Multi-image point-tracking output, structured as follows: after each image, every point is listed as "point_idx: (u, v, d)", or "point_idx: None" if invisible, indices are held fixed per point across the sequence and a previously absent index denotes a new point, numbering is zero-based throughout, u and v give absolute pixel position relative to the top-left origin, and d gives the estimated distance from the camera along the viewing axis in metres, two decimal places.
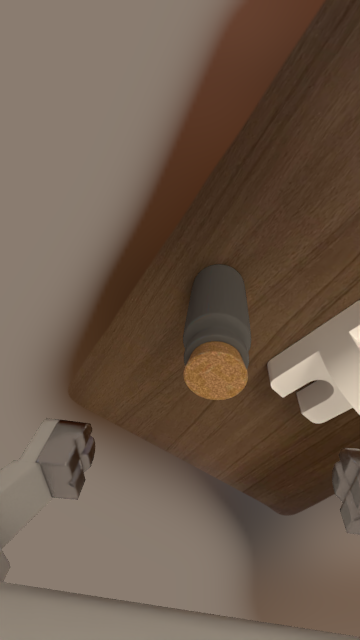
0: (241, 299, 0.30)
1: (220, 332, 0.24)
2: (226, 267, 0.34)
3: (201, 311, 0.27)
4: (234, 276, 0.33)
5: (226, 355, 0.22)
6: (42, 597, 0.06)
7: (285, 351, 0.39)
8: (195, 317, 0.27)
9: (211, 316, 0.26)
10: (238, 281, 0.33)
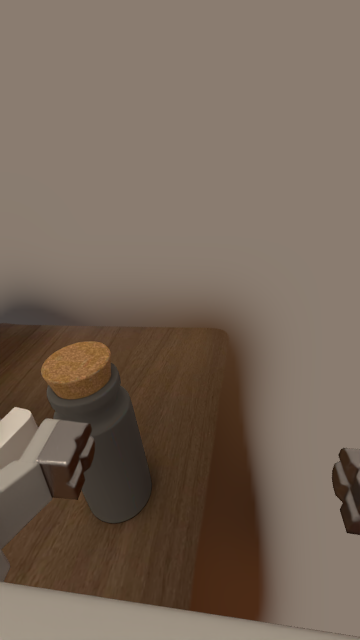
0: None
1: (86, 407, 0.21)
2: (117, 517, 0.27)
3: (119, 430, 0.23)
4: (103, 507, 0.26)
5: (68, 380, 0.20)
6: (42, 597, 0.06)
7: None
8: (123, 420, 0.23)
9: (104, 427, 0.22)
10: (96, 503, 0.26)
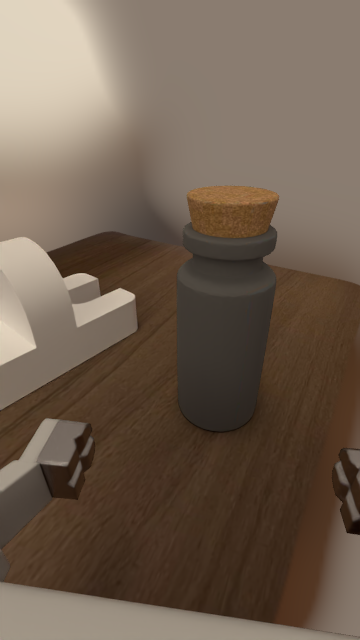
0: (191, 351, 0.19)
1: (233, 251, 0.16)
2: (211, 423, 0.22)
3: (258, 304, 0.17)
4: (200, 404, 0.21)
5: (225, 202, 0.15)
6: (42, 597, 0.06)
7: (116, 340, 0.31)
8: (266, 293, 0.17)
9: (244, 290, 0.17)
10: (193, 396, 0.21)
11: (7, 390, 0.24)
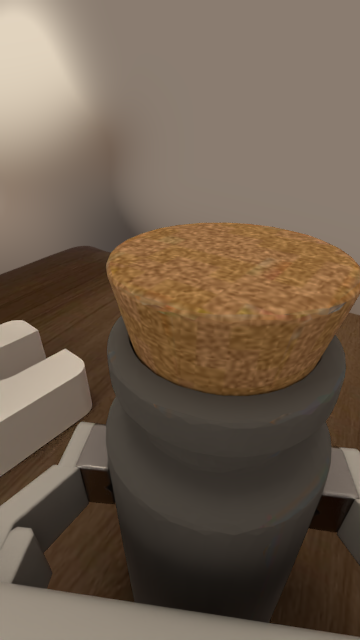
0: (141, 577, 0.09)
1: (233, 440, 0.05)
2: None
3: (295, 529, 0.07)
4: None
5: (207, 308, 0.04)
6: (42, 597, 0.06)
7: (55, 433, 0.20)
8: (315, 499, 0.07)
9: (261, 512, 0.06)
10: None
11: None
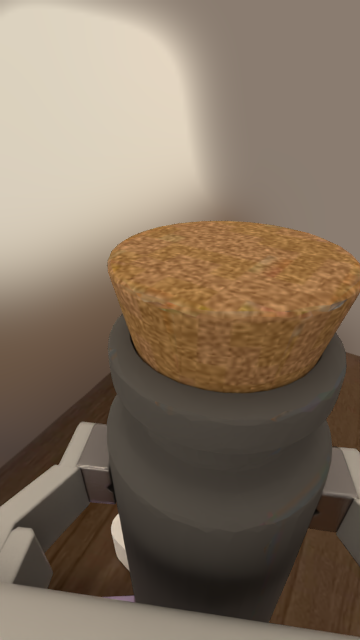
0: (142, 575, 0.09)
1: (234, 437, 0.05)
2: None
3: (296, 527, 0.07)
4: None
5: (207, 305, 0.04)
6: (42, 597, 0.06)
7: None
8: (315, 497, 0.07)
9: (262, 510, 0.06)
10: None
11: None
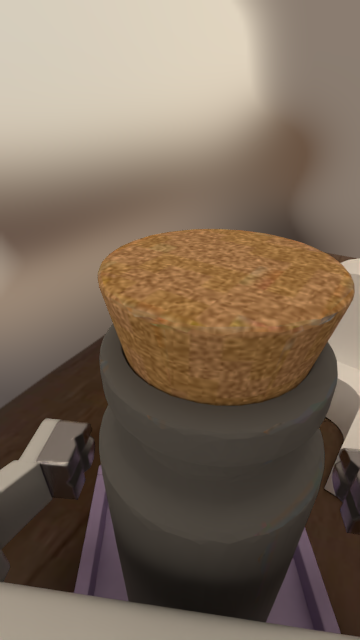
0: (137, 585, 0.09)
1: (227, 450, 0.05)
2: None
3: (289, 535, 0.07)
4: None
5: (199, 320, 0.04)
6: (42, 597, 0.06)
7: None
8: None
9: (256, 519, 0.06)
10: None
11: None
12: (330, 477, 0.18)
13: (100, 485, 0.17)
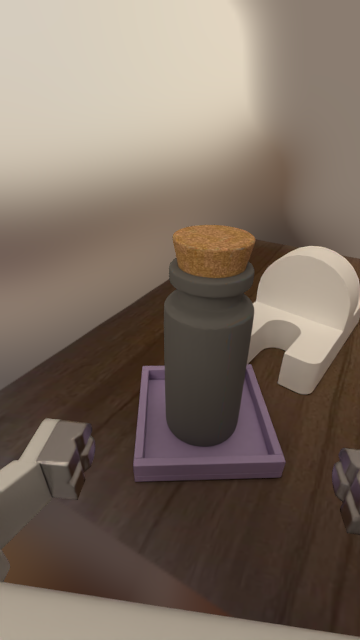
0: (178, 375, 0.21)
1: (214, 290, 0.17)
2: (197, 439, 0.23)
3: (238, 335, 0.19)
4: (186, 422, 0.23)
5: (207, 248, 0.17)
6: (42, 597, 0.06)
7: (353, 328, 0.38)
8: (245, 325, 0.19)
9: (224, 323, 0.18)
10: (179, 415, 0.23)
11: (327, 363, 0.31)
12: (280, 374, 0.30)
13: (145, 374, 0.29)
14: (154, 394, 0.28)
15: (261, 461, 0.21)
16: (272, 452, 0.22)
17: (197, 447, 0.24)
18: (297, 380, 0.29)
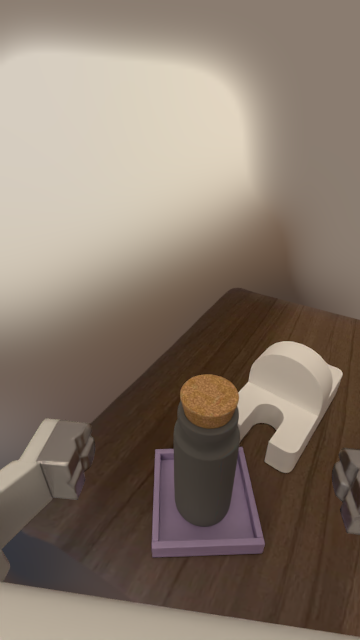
0: (184, 482, 0.28)
1: (210, 438, 0.25)
2: (198, 522, 0.31)
3: (227, 461, 0.26)
4: (190, 511, 0.30)
5: (204, 414, 0.24)
6: (42, 597, 0.06)
7: None
8: (232, 453, 0.26)
9: (217, 455, 0.26)
10: (185, 505, 0.30)
11: (305, 444, 0.38)
12: (266, 455, 0.37)
13: (157, 458, 0.36)
14: (165, 475, 0.36)
15: (246, 544, 0.29)
16: (255, 534, 0.30)
17: (199, 527, 0.31)
18: (279, 462, 0.36)
